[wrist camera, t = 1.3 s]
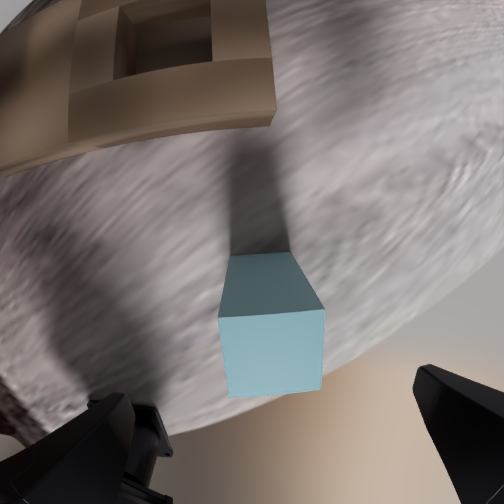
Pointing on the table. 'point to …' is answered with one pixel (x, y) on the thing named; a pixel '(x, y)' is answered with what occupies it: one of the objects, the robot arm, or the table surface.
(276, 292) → the peg
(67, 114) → the block
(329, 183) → the table surface
